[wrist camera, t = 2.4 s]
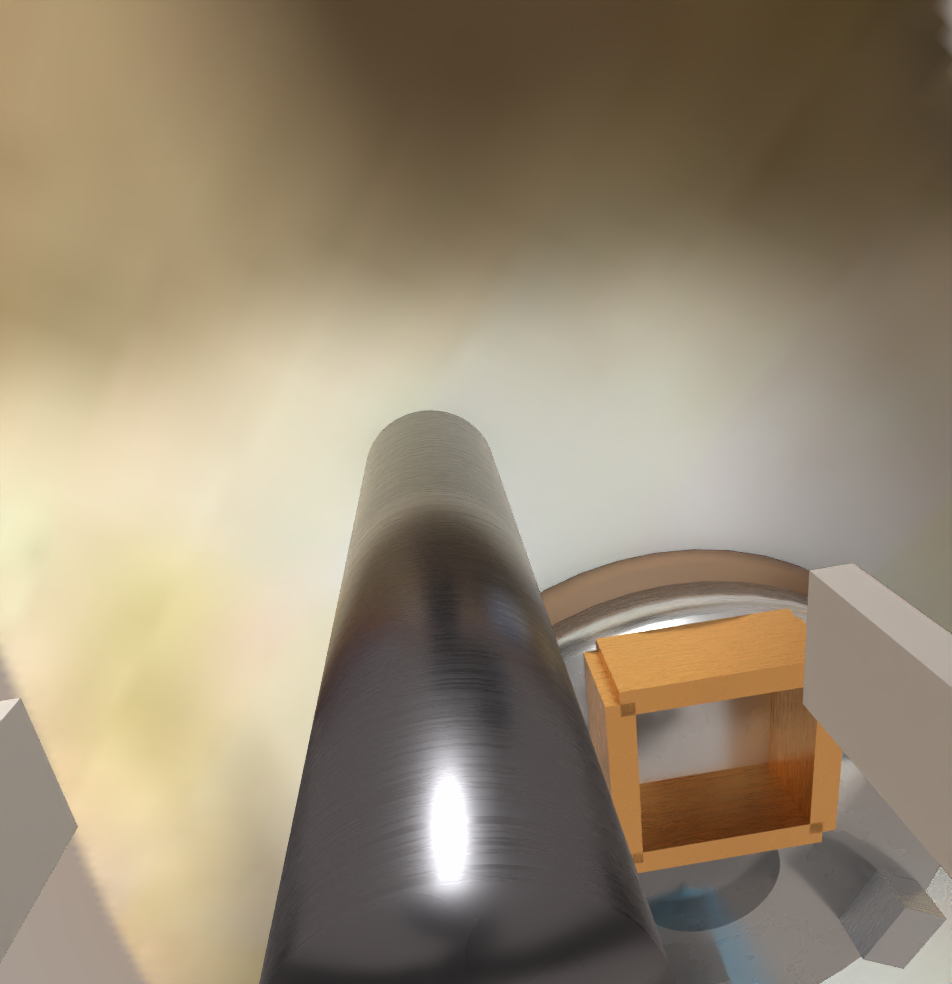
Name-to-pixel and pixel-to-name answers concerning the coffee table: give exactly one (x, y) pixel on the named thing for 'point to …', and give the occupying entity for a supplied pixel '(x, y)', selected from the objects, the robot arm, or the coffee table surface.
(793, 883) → the lugged metal disc
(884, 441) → the coffee table surface
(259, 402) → the coffee table surface
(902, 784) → the robot arm
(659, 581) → the nut base
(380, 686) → the steel pin
